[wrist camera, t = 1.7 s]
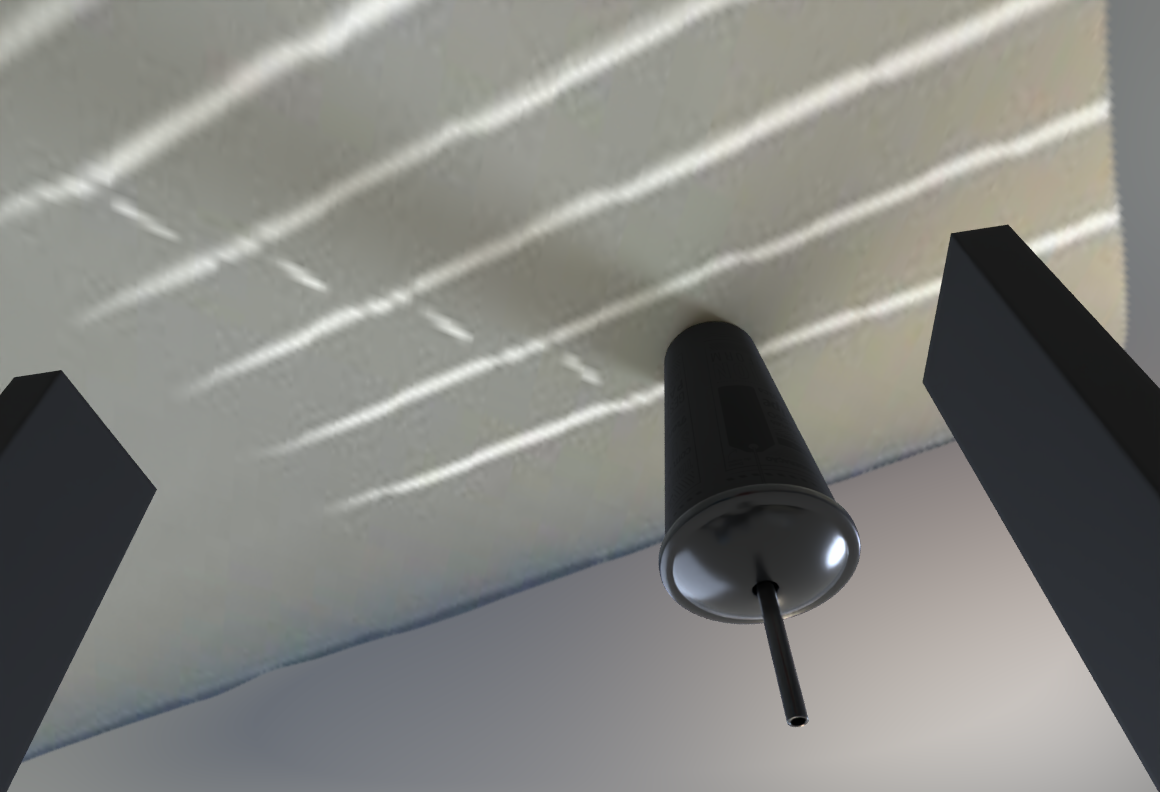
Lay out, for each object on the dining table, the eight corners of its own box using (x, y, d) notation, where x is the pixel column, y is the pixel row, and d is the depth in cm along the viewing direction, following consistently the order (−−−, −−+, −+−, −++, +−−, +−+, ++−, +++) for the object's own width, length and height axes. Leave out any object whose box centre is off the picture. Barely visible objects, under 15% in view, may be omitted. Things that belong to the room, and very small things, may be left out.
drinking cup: (606, 361, 40) (627, 723, 24) (720, 268, 37) (830, 616, 21) (700, 438, 43) (773, 801, 27) (812, 359, 40) (968, 720, 24)
